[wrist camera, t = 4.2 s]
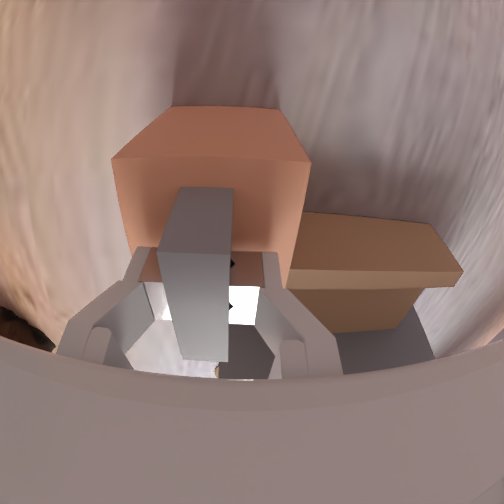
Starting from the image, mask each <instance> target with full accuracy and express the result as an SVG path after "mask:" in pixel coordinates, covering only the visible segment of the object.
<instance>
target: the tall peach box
mask: <svg viewBox="0 0 504 504" xmlns="http://www.w3.org/2000/svg"><path fill="white" fill-rule="evenodd" d="M111 162H112V168H113V174H114V180H115V185H116V190H117V196H118V201H119V205H120V210H121V215H122V219H123V223H124V228H125V232H126V236H127V240H128V244H129V248H130V252H131V255H132V256H133V254H134V252H135V249H136V248H137V247H138V246H144V247H158V249H157V251H156V253H157V258H158V263H159V268H160V272H161V277H162V281H163V286H164V290H165V294H166V299H167V303H168V307H169V311H170V315H171V319H172V322H173V326H174V330H175V334H176V337H177V341H178V344H179V348H180V351H181V355H182V358H183V359H185V360H198V361H216V362H228V348H229V284H230V264H231V251H258V252H261V251H272V252H277V253H278V258H279V265H280V272H281V279H282V286H283V289H285V287H286V283H287V278H288V274H289V270H290V265H291V261H292V257H293V252H294V248H295V243H296V238H297V234H298V229H299V224H300V220H301V215H302V210H303V205H304V200H305V195H306V190H307V185H308V180H309V174H310V169H311V164H312V163H311V161H310V159H309V158H308V156H307V154H306V152H305V150H304V149H303V147H302V145H301V144H300V142H299V140H298V138H297V137H296V135H295V133H294V132H293V130H292V128H291V127H290V125H289V123H288V122H287V120H286V119H285V117H284V115H283V114H282V112H281V111H280V109H269V108H256V107H238V106H174V107H170V108H169V109H168V110H166V111H165V112H164V113H163V114H161V115H160V116H159V117H158V118H156V119H155V120H154V121H153V122H152V123H150V124H149V125H148V126H147V127H146V128H145V129H143V130H142V131H141V132H140V133H139V134H138V135H136V136H135V137H134V138H133V139H132V140H131V141H130V142H129V143H128V144H127V145H125V146H124V147H123V148H122V149H121V150H120V151H119V152H118V153H117V154H116V155H115V156H114V157H113V158H112V159H111Z"/></svg>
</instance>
